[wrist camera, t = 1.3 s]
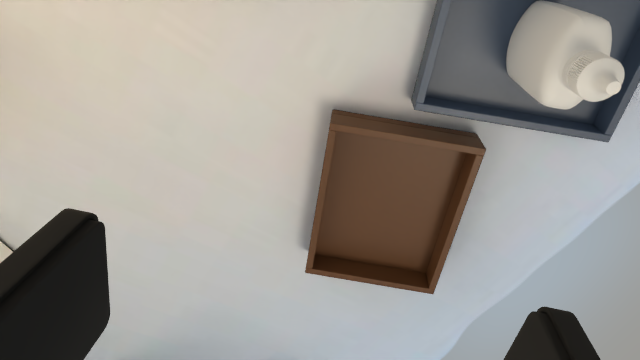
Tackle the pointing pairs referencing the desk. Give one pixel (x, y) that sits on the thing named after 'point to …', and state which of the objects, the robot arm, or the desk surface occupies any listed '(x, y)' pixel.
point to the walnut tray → (390, 200)
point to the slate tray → (491, 73)
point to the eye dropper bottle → (563, 56)
